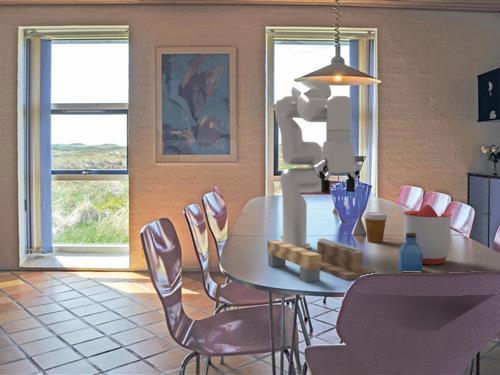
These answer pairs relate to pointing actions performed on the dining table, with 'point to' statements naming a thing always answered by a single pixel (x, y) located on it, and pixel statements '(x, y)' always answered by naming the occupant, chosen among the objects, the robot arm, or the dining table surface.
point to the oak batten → (294, 254)
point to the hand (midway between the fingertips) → (338, 192)
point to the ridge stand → (341, 260)
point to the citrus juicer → (429, 233)
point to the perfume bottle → (410, 254)
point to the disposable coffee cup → (375, 226)
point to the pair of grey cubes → (305, 273)
